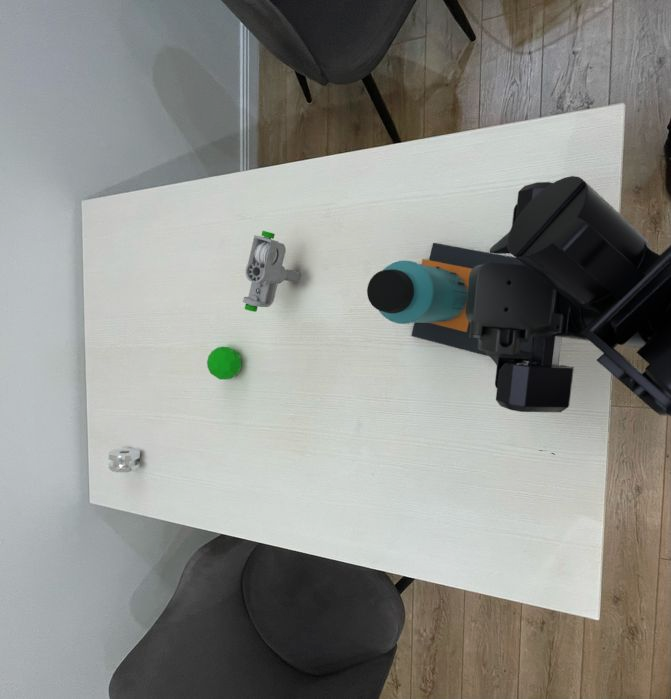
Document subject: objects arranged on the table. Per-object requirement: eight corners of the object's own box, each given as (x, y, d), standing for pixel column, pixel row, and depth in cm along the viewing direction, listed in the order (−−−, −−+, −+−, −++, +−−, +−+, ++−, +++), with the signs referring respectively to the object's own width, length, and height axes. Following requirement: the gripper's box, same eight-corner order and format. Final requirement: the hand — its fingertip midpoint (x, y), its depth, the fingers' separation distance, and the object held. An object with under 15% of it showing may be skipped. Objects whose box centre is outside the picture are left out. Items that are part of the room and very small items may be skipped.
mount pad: (568, 267, 61) (567, 267, 60) (539, 369, 63) (538, 369, 62) (428, 242, 68) (426, 241, 67) (406, 334, 70) (405, 334, 69)
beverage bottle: (482, 286, 65) (433, 274, 47) (454, 333, 66) (396, 339, 49) (437, 260, 67) (374, 240, 49) (411, 307, 69) (341, 303, 51)
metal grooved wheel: (146, 451, 93) (123, 457, 88) (146, 467, 93) (122, 475, 89) (125, 446, 95) (102, 452, 91) (125, 462, 95) (101, 470, 91)
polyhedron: (217, 368, 85) (196, 371, 80) (227, 340, 83) (206, 341, 79) (240, 383, 83) (220, 387, 78) (251, 354, 82) (231, 357, 77)
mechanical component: (279, 307, 79) (236, 306, 70) (296, 238, 77) (254, 228, 68) (295, 313, 78) (254, 313, 69) (313, 243, 76) (273, 233, 67)
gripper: (533, 152, 35) (424, 191, 50) (502, 431, 37) (406, 388, 52) (663, 176, 39) (525, 206, 53) (629, 430, 40) (505, 391, 55)
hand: (488, 298), depth 53 cm, fingers open, 9 cm apart
